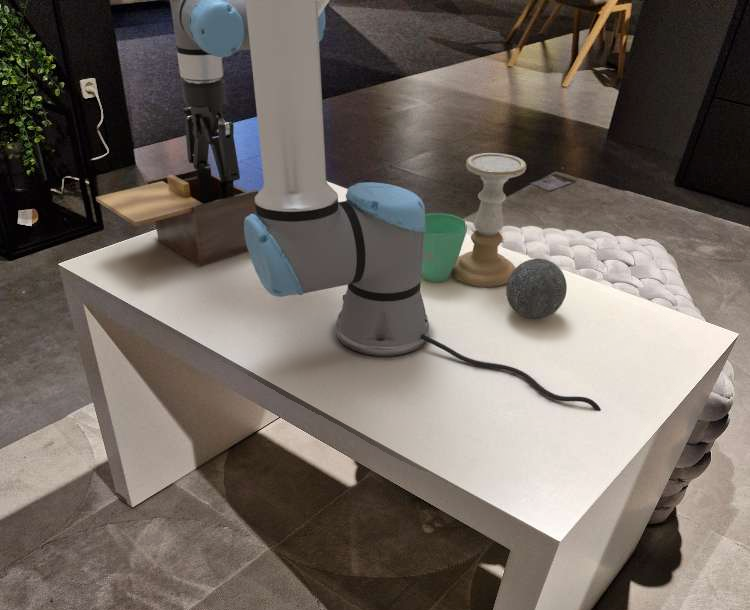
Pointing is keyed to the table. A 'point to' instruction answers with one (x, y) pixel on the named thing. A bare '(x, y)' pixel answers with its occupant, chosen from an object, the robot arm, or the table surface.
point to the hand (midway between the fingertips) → (218, 209)
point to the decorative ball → (536, 289)
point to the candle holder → (488, 222)
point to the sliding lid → (151, 201)
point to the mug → (441, 245)
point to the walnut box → (208, 223)
